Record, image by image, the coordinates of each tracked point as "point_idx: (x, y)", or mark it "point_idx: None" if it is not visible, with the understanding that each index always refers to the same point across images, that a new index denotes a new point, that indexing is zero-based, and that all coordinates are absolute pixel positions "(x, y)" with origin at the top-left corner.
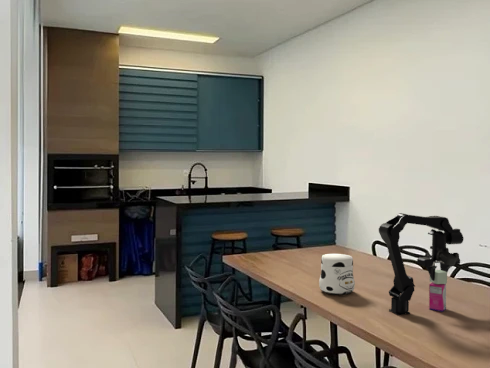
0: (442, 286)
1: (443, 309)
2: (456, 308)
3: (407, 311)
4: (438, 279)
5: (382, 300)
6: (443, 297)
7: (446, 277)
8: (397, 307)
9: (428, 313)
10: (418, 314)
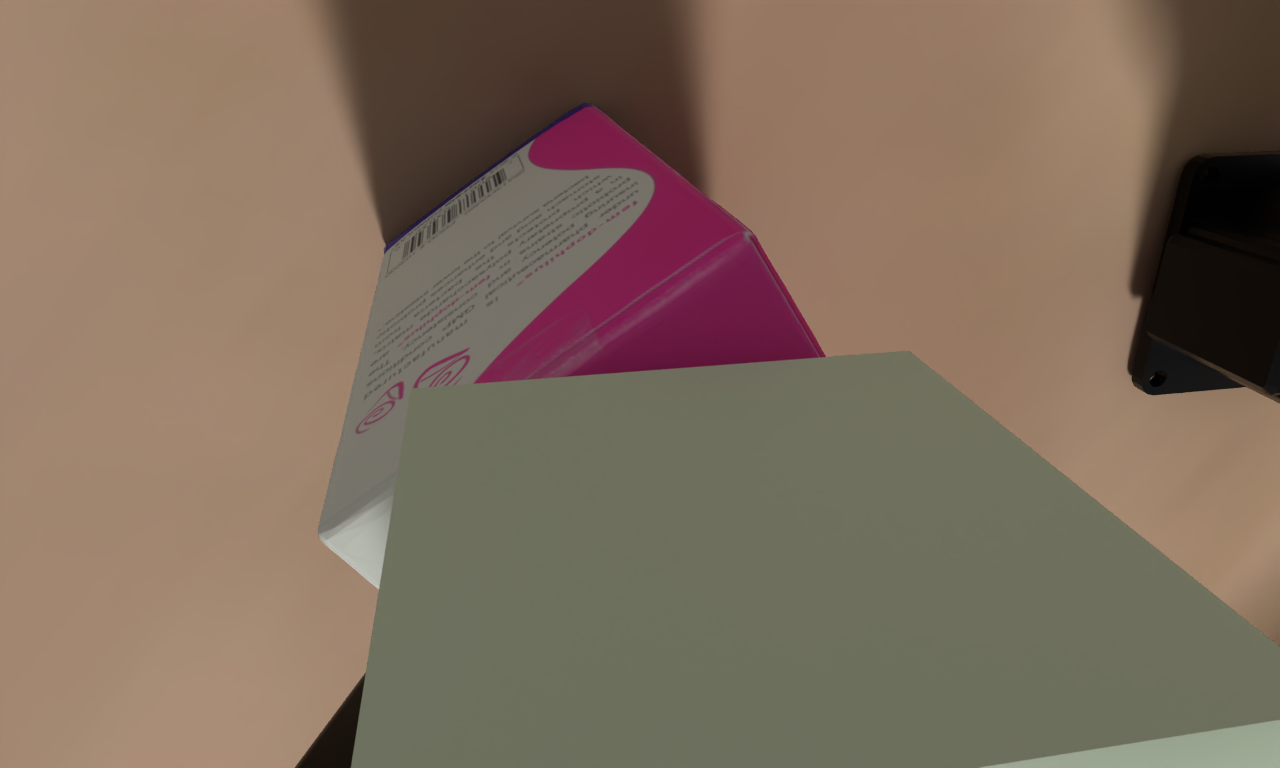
0: (727, 235)
1: (541, 135)
2: (139, 221)
3: (1200, 219)
4: (971, 446)
5: None
6: (567, 193)
7: (429, 546)
8: None
9: (891, 100)
10: (1084, 102)
